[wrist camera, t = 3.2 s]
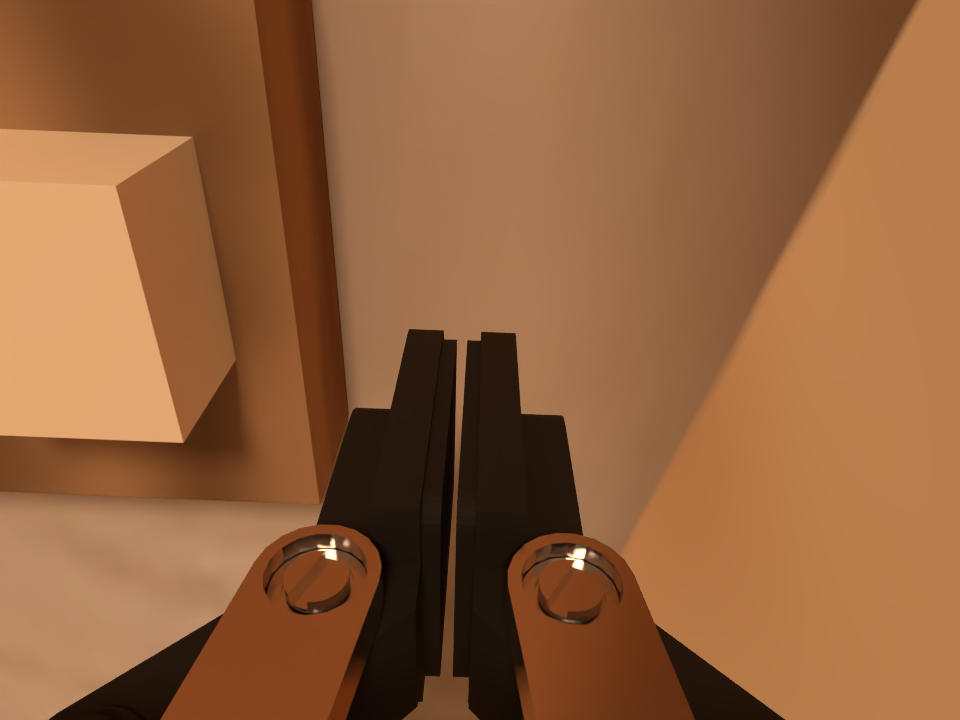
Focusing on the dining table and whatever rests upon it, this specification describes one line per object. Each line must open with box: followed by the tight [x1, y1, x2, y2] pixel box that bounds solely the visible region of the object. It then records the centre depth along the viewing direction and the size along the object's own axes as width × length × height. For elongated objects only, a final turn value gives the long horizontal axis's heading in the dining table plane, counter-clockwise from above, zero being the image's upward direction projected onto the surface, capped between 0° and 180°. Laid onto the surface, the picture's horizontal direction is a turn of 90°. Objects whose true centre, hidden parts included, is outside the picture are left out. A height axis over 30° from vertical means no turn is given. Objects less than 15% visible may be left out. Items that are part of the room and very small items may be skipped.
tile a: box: [0, 129, 236, 443], centre depth 13 cm, size 5×5×3 cm
